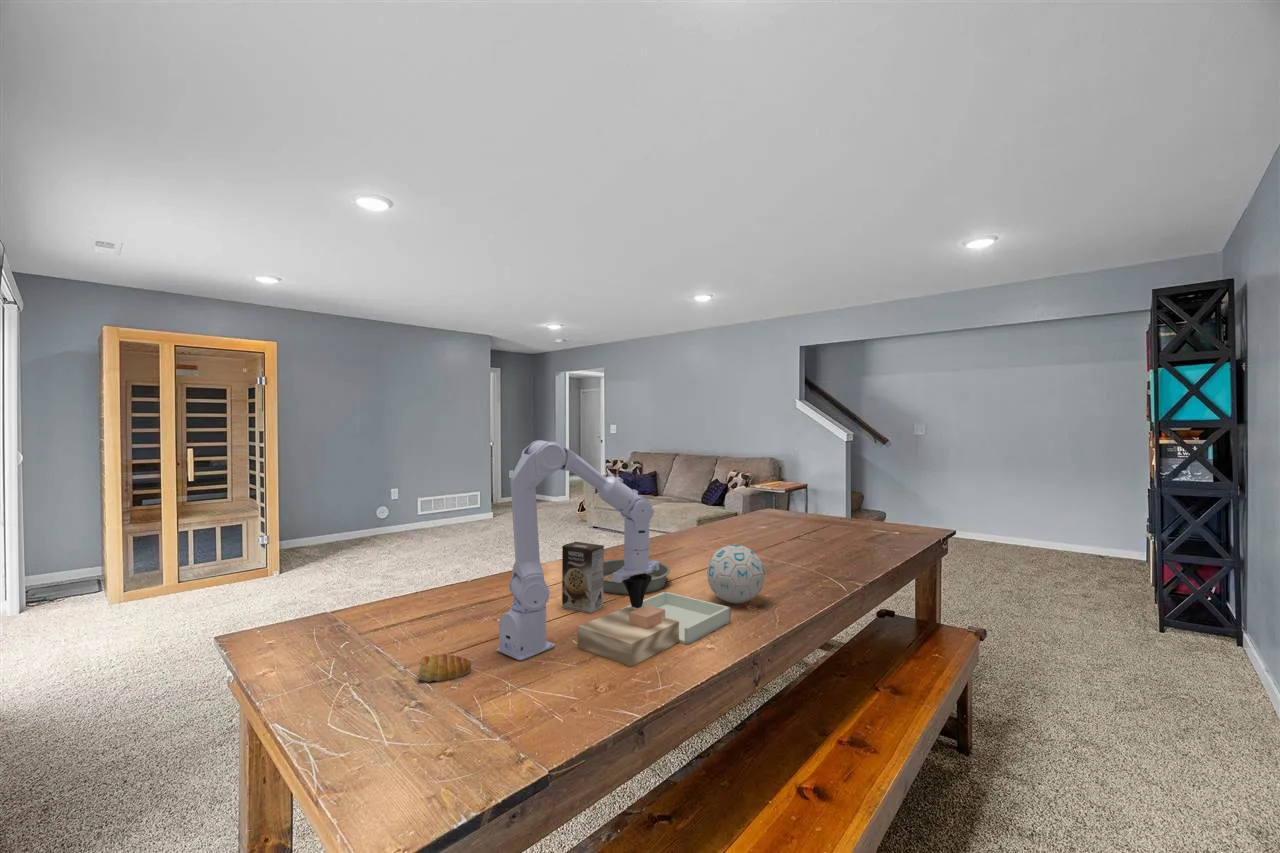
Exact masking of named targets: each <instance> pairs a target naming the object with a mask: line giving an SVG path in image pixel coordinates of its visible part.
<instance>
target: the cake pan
mask: <svg viewBox="0 0 1280 853" xmlns="http://www.w3.org/2000/svg"><path fill="white" fill-rule="evenodd" d="M649 561H651V559H649ZM622 567H624V558H617V559H610V560H604V566H603V592H606V593H611V594H618V595H629V594H628V591H627V589H626V587H625V585H624V583H623V581H622V582H620V583H617V582H613V579H612V578H611V577H608V578H610V579H608V578H607V579H606V578H604V577H606V576H609V575H611V574H613V573H614V572H616V571H618V570H619V569H621V568H622ZM670 573H671V568H670V567H669V566H668V565H666V564H665V563H662V562H659V570H653V571H652V572H651V573H648V574H647V575H651V576H652V580H651V581H650V583H649V585H648V587H647V589H646V592H645V594H647V593H650V592H651V593H652V592H655V590H656V591H658V590H660V589H662V588H663V587H665V584H666V581H667V580H666V579H667V576H668V575H669V574H670ZM612 577H613V576H612Z"/></svg>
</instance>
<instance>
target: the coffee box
mask: <svg viewBox="0 0 1280 853" xmlns="http://www.w3.org/2000/svg"><path fill="white" fill-rule="evenodd" d="M561 548H562V552H561V553H562V556H561V557H562V562H561V563H562V566H561V567H562V571H561V574H562V575H561V576H562V577H561V578H562V580H561V583H562V584H561V586H562V587H561V588H562V590H561V592H562V593H561V599H562V600H561V607H562V608H563V609H566V610H572V611H577V612H582V613H589V614H592V613H594V612H595V611H598V610H600V609H601V608H603V607H604V591H603V566H604V561H605V560H604V559H605V558H604V557H605V555H604V554H605V552H604V550H605V545H603V544H597V543H596V544H595V543H588V542H581V541H573V542H569V543H565V544H564V545H562V546H561Z"/></svg>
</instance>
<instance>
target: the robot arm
mask: <svg viewBox="0 0 1280 853" xmlns="http://www.w3.org/2000/svg"><path fill="white" fill-rule="evenodd" d="M560 470H561V471H565V472H569V471H570V472H571V473H573V474H574V475H575V476H577V477H579V478H580V479H582V480H583V481H584V482H586V483H587V484H589V485H591V486H592V487H594V488H595V489H596V490H597V495H598V497H599V499H601V500H602V501H604V502H605V503H607V504H608V505H609V506H611V507H612V508H613V509H615V510H617V511H618V513H620V514H621V516H622V517H623V518H624V524H623V526H624V528H623V529H624V530H623V532H624V534H623V535H624V542H623V544H624V547H623V548H624V549H623V550H624V551H623V555H624V556H623V557H624V558H623V559H624V567H622V568H621V569H619V570H618V571H616V572H614V573H613V582H617V583H620V582H622V581H623V583H624V585H625V587H626V589H627V591H628V594H627V595H628V597H629V602H630V605H631V606H632V607H635V608H640V607H642V604H643V600H644V599H645V594H646V593H645V592H646V589H647V587H648V585H649V583H650V581H651V580H652V576H651V575H647V574H648V573H651V572H652V571H653V570H659V563H660V561H657V560H650V522H651V519H652V518H653V516H654V514H655V509H654V508H653V505H652V502H651V501H650V500H649V499H647V498H645V497H643V496H639V491H638V490H637V489H632V488H630V487H629V486H627V485H626V483H624V479H623V478H621V477H619V476H613V475H612V476H607V477H606V476H605V475H603V474H602V473H601V472H599V471H598V469H597V470H596V468H595V467H593V466H592V465H591V464H589V463H588V462H587V461H586V460H585V459H583V458H582V457H580V456H579V455H578V453H575V452H574V451H572V450H571V449H569V448H568V447H564V446H563V445H562V444H561V443H559V442H557V441H546V440H544V439H543V440H541V439H538V440H534V441H532V442H531V443H530V444H529V445H528V446H526V447H525V448H524V449H523V450H522V452H521V456H520V458H519V461H518V462H517V464H516V466H515V468H514V471H513V473H512V474H511V477H510V493H511V494H510V495H511V496H510V497H511V508H512V510H511V512H512V524H513V526H512V530H513V542H514V543H513V544H514V557H515V558H514V559H515V560H514V561H515V562H514V564H513V565H512V575H511V578H510V580H509V585H508V586H509V591H510V594H511V595H512V596H513V597H514V598H513V600H512V602H511V607H510V609H509V610H508V611H507V612H505V613H503V614H502V615H501V616H500V619H499V622H498V629H499V630H498V634H499V635H498V646H499V647H498V648H496V651H497V652H499V653H500V654H501V653H502V654H503V655H506V656H508V657H510V658H512V659H516V660H518V661H523V660H527V659H529V658H531V657H533V656H536V655H538V654H541V653H543V652H545V651H547V650H550V649H553V648H554V647H555V646H556V644H555V643H552V642H550V641H548V640H547V603H548V601H549V598H550V588H549V586H548V585H547V583H546V580H545V575H544V574H545V573H544V570H543V566H542V563H541V559H540V556H541V555H540V541H539V540H540V539H539V526H538V512H537V510H538V508H537V507H538V506H537V492H536V491H537V490H536V488H537V486H539V484H541V483H542V481H543V480H544V479H545V478H546V477H548V476H550V475H552V474H554V473H555V472H557V471H560ZM649 560H650V561H649Z"/></svg>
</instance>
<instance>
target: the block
mask: <svg viewBox="0 0 1280 853" xmlns="http://www.w3.org/2000/svg"><path fill="white" fill-rule="evenodd" d="M625 607H626V606H625ZM622 608H623V609H621V608H619V609H620V610H619V609H618V610H616V611H613V612H610V613H608V614H606V615H603V616H600V617H597V618H595V619H593V620H590V621H588V622H585V623H582V624H580V625H577V648H579V649H582V650H584V651H588V652H589V653H593V654H595V655H598V656H601V657H605V658H606V659H610V660H613V661H614V662H618V663H620V664H623V665H626V666H629V667H631V668H632V667H634V666H636V665H638V664H640V663H641V662H644V661H645V660H647V659H649V658H651V657H653V656H655V655H657V654H658V653H660V652H662V651H664V650H667V649H668V648H671V647H672V646H674V645H677V644H678V643H680V642H679V621H675V620H672V619H668V618H664V617H661V623H660V624H658V625H655V626H653V627H651V628H649V629H644V628H641V627H638V626H635V625H631V624H629V612H631V611H633V610H636V609H632V608H628V607H626V608H624V607H622Z"/></svg>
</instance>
